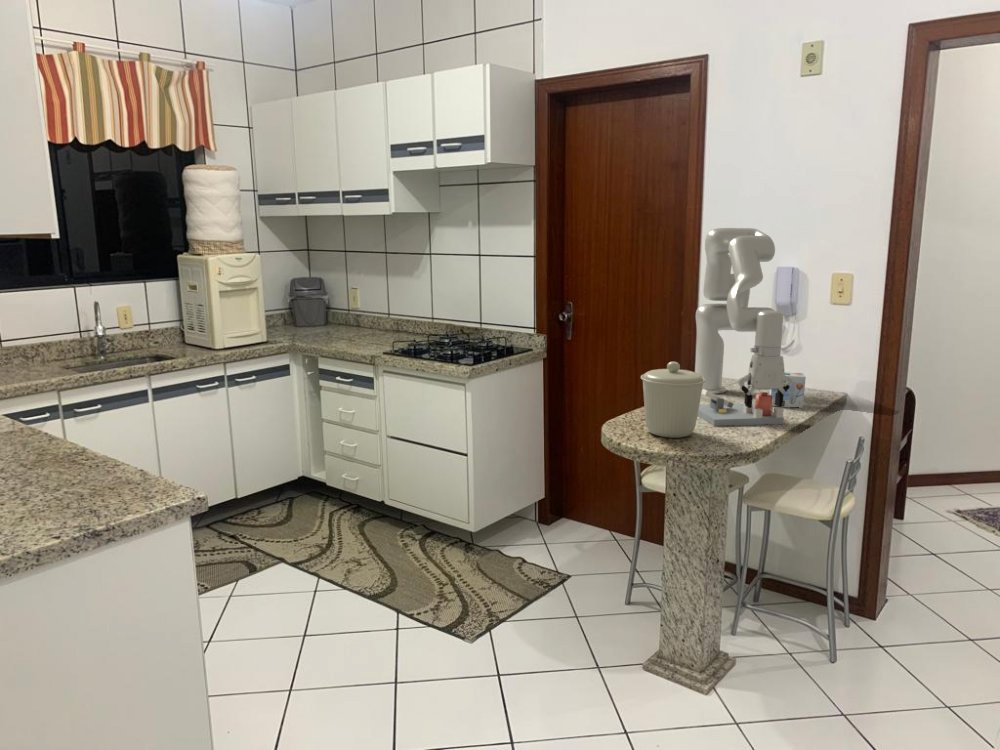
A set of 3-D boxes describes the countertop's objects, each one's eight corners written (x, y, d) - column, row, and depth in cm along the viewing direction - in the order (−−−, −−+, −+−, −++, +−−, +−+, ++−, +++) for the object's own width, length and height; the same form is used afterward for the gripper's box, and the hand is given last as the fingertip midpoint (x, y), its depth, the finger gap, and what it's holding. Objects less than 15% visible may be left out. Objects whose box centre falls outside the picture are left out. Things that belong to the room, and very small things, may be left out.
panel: (690, 411, 248) (691, 392, 247) (754, 409, 251) (756, 391, 250) (713, 426, 230) (715, 406, 229) (783, 424, 233) (784, 404, 232)
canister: (709, 430, 225) (714, 360, 221) (691, 445, 209) (695, 369, 205) (650, 422, 234) (653, 354, 230) (629, 436, 218) (631, 363, 214)
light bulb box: (769, 406, 255) (772, 374, 253) (767, 402, 262) (770, 371, 260) (803, 408, 253) (806, 376, 251) (801, 404, 259) (803, 372, 257)
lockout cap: (758, 416, 234) (760, 394, 232) (751, 412, 238) (753, 391, 237) (773, 416, 234) (775, 394, 233) (766, 412, 239) (767, 391, 238)
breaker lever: (700, 393, 243) (703, 388, 242) (726, 405, 245) (729, 401, 244) (705, 395, 239) (707, 390, 239) (731, 408, 241) (734, 403, 241)
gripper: (745, 354, 228) (741, 410, 231) (800, 353, 230) (795, 408, 233) (734, 349, 235) (731, 404, 238) (788, 349, 237) (783, 403, 240)
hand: (763, 406), depth 236 cm, fingers open, 9 cm apart
